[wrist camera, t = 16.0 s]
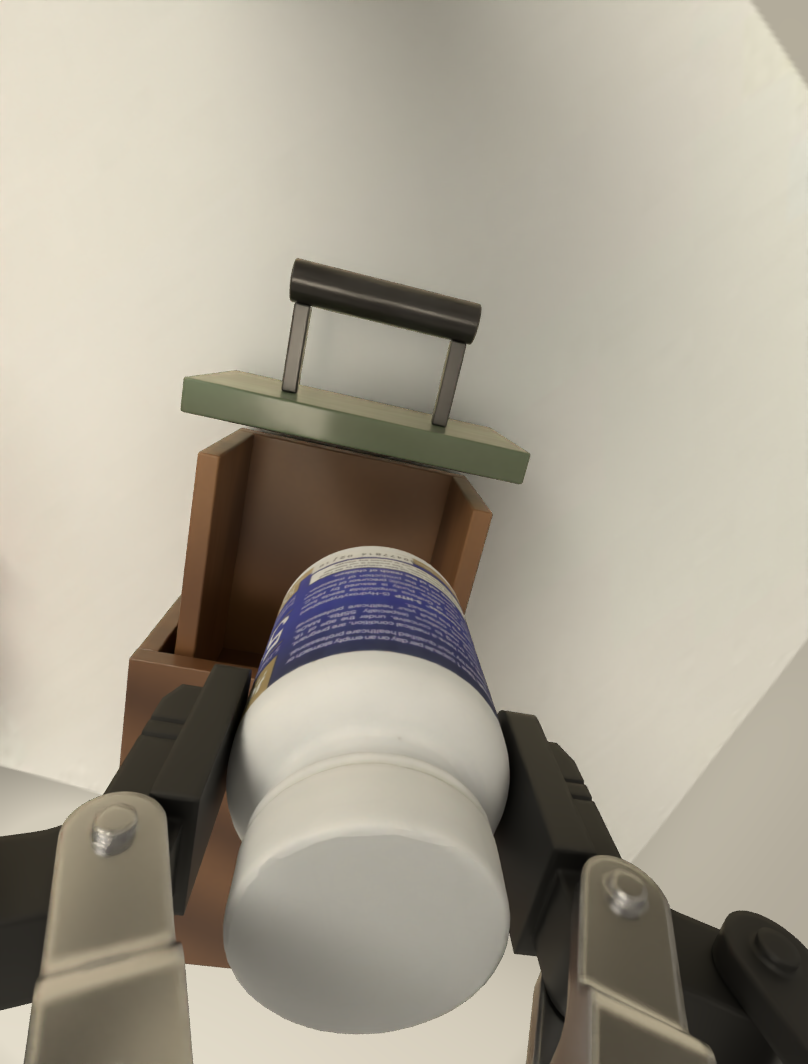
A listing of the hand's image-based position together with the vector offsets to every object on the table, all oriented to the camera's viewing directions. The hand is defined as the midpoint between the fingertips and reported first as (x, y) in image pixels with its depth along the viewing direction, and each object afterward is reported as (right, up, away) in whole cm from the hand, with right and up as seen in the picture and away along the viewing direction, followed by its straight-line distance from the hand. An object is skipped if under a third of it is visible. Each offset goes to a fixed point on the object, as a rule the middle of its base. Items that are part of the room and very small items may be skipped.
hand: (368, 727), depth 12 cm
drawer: (-2, +6, +16) cm, 17 cm away
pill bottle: (0, +1, +4) cm, 5 cm away
